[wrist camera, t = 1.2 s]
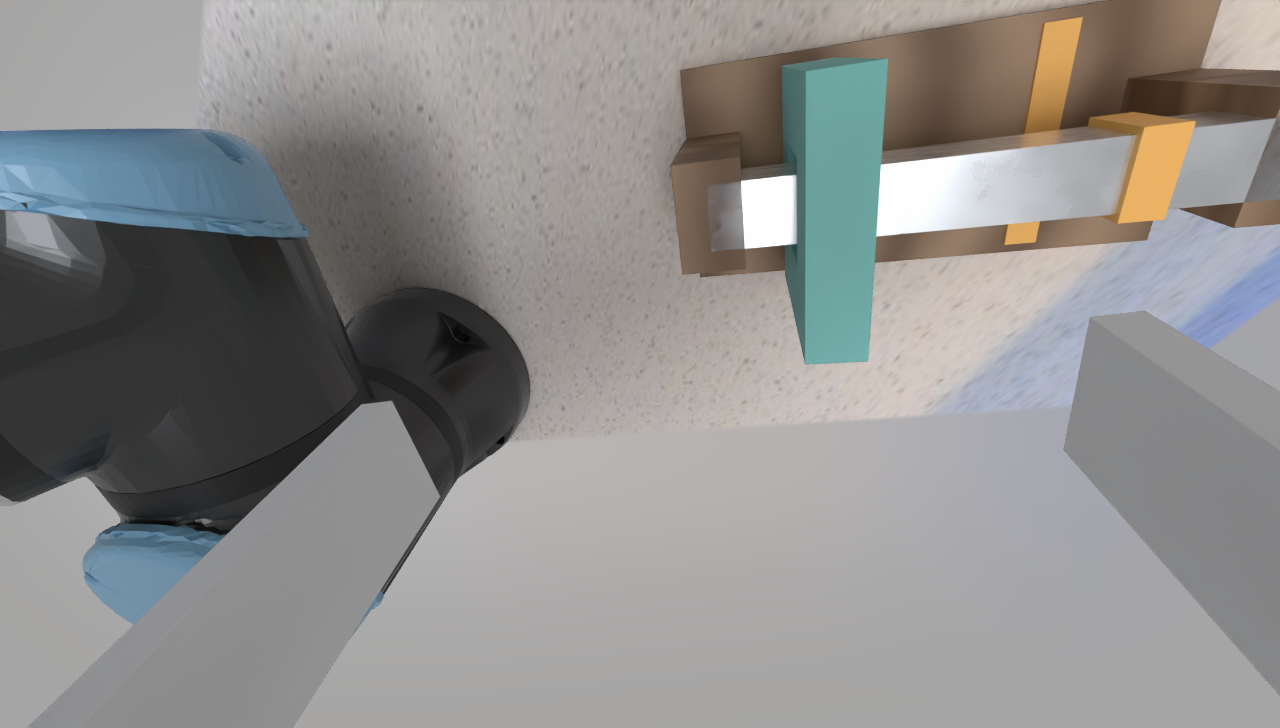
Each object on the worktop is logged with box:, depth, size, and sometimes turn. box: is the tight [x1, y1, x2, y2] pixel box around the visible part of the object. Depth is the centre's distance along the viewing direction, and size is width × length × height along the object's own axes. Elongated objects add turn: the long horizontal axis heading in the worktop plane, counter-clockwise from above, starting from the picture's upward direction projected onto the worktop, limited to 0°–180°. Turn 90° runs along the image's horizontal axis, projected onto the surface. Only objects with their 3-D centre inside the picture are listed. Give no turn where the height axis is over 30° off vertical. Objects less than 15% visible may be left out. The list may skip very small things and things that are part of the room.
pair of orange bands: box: [1003, 17, 1196, 245], centre depth 25 cm, size 2×11×9 cm, turn 9°
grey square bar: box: [707, 111, 1280, 252], centre depth 23 cm, size 22×3×3 cm, turn 99°
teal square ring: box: [782, 57, 888, 364], centre depth 25 cm, size 2×11×11 cm, turn 9°
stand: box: [670, 0, 1280, 277], centre depth 27 cm, size 25×12×10 cm, turn 99°
